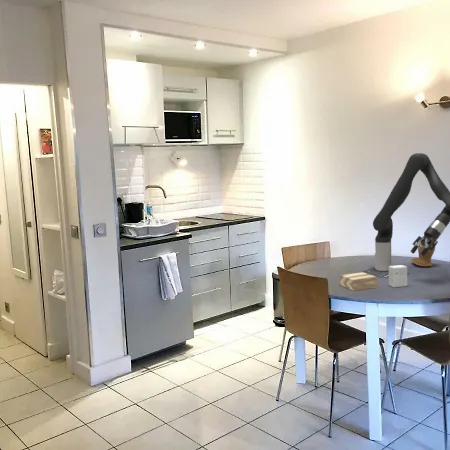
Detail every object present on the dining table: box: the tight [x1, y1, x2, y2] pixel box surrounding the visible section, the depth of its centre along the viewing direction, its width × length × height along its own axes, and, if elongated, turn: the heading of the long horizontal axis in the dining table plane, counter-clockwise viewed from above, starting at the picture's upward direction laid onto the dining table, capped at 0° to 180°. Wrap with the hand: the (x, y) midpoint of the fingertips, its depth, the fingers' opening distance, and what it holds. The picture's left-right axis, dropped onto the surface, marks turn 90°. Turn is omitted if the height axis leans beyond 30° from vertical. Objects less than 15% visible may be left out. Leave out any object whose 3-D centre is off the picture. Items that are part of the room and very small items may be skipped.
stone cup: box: [410, 242, 436, 267], centre depth 314 cm, size 15×12×15 cm
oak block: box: [339, 271, 378, 292], centre depth 272 cm, size 14×14×6 cm
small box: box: [388, 264, 408, 288], centre depth 270 cm, size 8×6×10 cm
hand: (416, 253), depth 271 cm, fingers open, 8 cm apart
